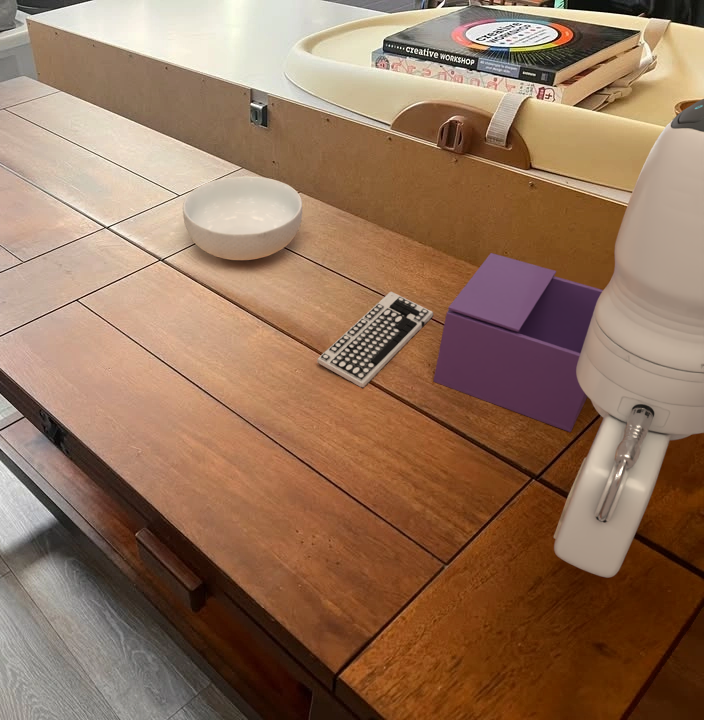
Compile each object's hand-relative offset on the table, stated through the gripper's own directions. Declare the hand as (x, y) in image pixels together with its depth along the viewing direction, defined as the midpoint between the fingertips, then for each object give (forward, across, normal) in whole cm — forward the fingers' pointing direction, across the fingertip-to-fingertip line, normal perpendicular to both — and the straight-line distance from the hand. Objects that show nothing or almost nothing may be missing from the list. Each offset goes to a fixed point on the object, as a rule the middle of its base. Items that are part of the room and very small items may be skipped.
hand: (600, 515), depth 54 cm
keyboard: (+12, +26, +29) cm, 41 cm away
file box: (+13, +29, +13) cm, 34 cm away
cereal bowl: (+12, +36, +55) cm, 66 cm away
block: (+2, 0, 0) cm, 2 cm away
